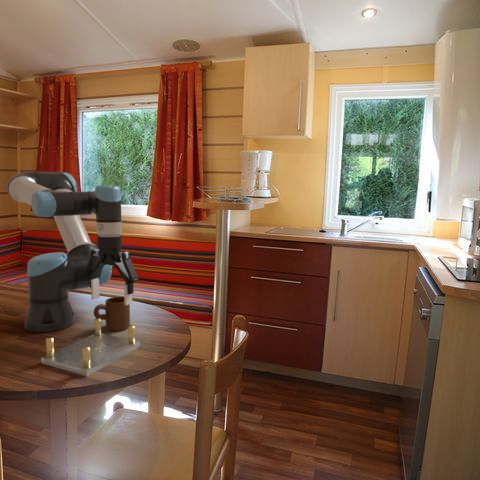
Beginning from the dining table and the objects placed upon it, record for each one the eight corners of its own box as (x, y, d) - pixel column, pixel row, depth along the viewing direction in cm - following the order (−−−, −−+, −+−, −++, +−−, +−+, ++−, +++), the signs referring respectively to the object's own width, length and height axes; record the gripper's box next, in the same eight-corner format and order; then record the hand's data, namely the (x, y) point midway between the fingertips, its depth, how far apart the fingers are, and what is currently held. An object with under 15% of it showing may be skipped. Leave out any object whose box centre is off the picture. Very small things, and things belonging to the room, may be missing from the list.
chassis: (41, 363, 104) (40, 339, 103) (98, 337, 122) (97, 316, 121) (86, 376, 97) (85, 351, 96) (140, 346, 115) (139, 325, 114)
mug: (100, 337, 122) (99, 307, 120) (88, 331, 127) (87, 302, 125) (134, 327, 130) (134, 299, 129) (122, 321, 135) (121, 295, 134)
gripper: (70, 234, 126) (73, 299, 129) (133, 239, 115) (134, 309, 118) (88, 231, 133) (91, 293, 135) (149, 236, 122) (150, 303, 125)
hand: (111, 301), depth 127 cm, fingers open, 13 cm apart
